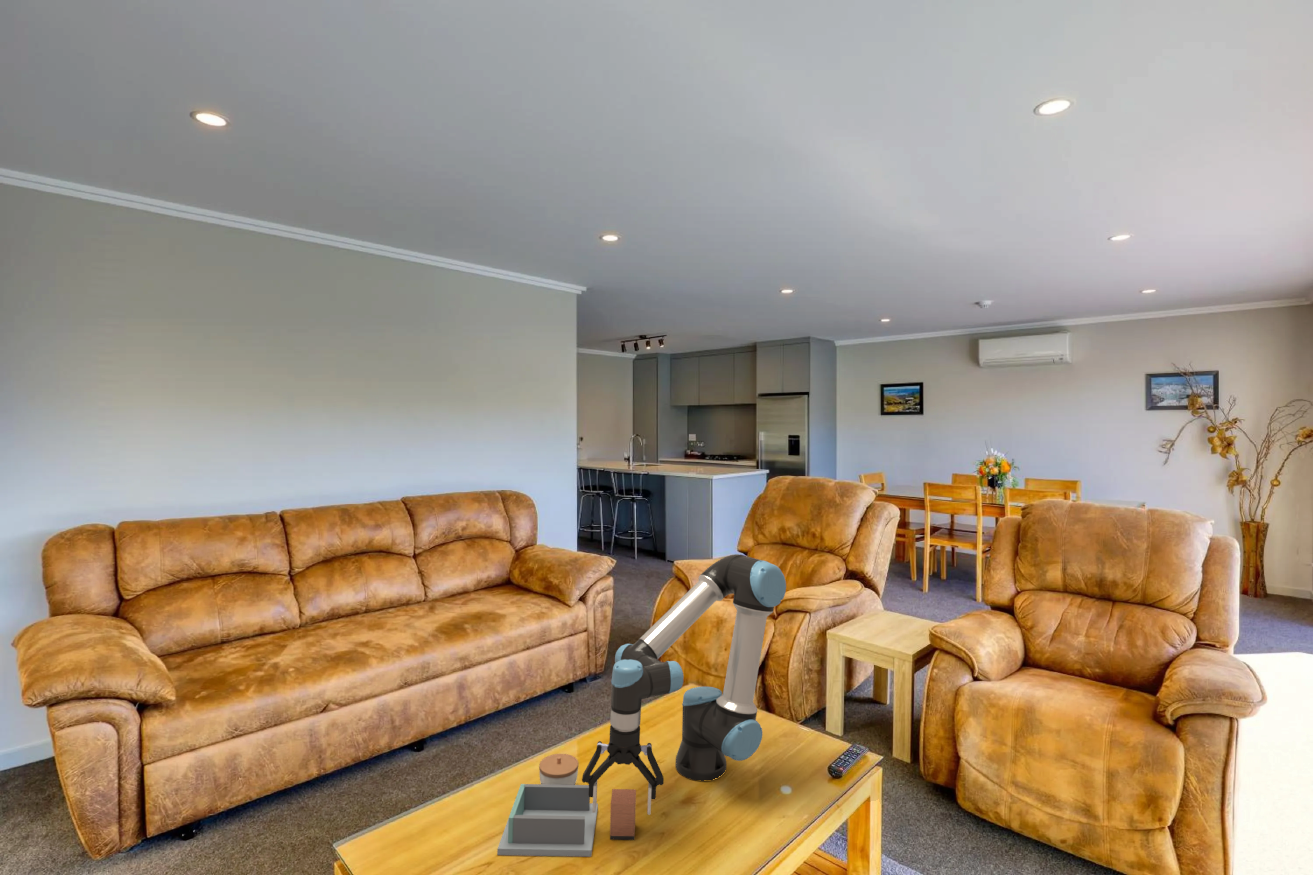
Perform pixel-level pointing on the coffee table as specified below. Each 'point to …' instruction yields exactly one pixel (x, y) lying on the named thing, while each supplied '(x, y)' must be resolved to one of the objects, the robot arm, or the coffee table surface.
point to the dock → (550, 822)
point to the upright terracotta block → (623, 814)
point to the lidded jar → (559, 770)
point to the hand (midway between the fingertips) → (621, 810)
